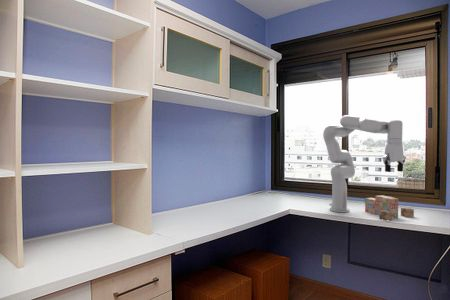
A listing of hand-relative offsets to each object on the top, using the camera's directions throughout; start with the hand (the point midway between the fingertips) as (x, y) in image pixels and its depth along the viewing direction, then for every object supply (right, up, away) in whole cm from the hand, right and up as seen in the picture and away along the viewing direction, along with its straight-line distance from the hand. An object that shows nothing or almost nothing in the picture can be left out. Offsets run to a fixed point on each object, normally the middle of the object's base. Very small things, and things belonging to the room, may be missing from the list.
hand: (394, 171), depth 171 cm
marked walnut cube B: (+18, -30, +17) cm, 39 cm away
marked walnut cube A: (0, -30, +9) cm, 31 cm away
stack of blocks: (+4, -30, +23) cm, 38 cm away
